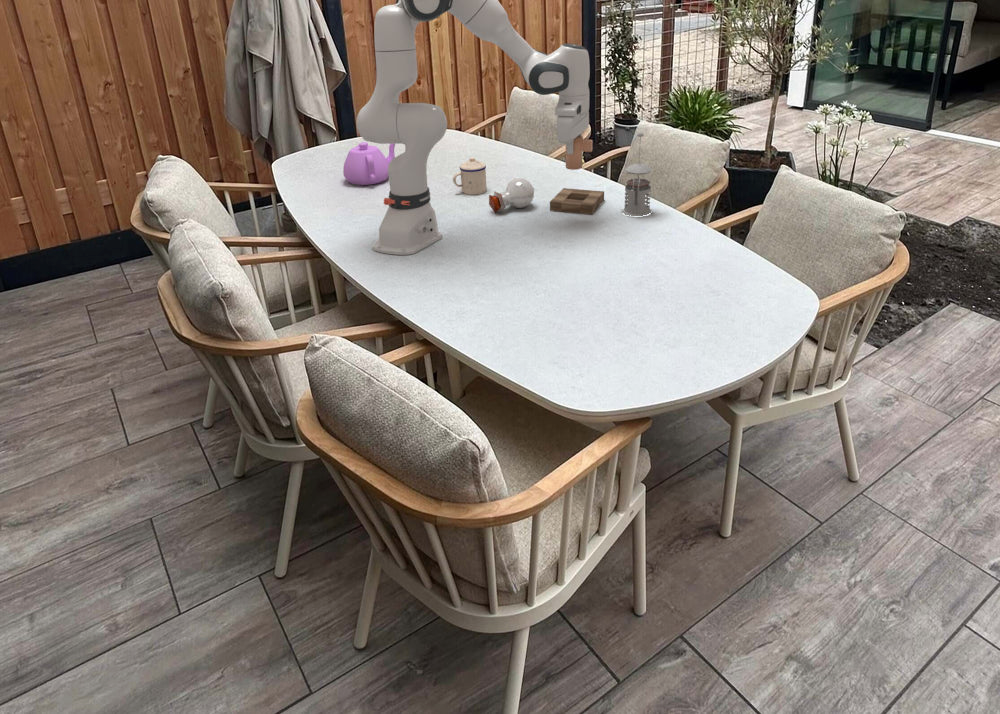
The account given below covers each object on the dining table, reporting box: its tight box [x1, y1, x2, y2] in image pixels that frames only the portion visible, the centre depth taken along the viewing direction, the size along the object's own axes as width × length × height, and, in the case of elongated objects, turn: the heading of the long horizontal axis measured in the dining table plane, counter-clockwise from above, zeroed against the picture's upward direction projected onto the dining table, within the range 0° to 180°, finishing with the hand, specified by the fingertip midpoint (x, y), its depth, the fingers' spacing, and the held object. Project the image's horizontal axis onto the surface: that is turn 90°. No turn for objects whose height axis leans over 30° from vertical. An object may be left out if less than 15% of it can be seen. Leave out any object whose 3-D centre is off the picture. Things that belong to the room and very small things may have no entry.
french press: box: [621, 131, 653, 216], centre depth 234 cm, size 10×12×25 cm
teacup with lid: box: [452, 156, 487, 196], centre depth 263 cm, size 12×9×12 cm
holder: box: [549, 187, 605, 216], centre depth 248 cm, size 14×14×3 cm
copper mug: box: [565, 135, 593, 171], centre depth 229 cm, size 8×5×9 cm, turn 68°
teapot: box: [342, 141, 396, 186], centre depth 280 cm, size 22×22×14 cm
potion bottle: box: [488, 178, 535, 214], centre depth 247 cm, size 9×10×15 cm
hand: (573, 150), depth 229 cm, fingers closed on copper mug, 5 cm apart
